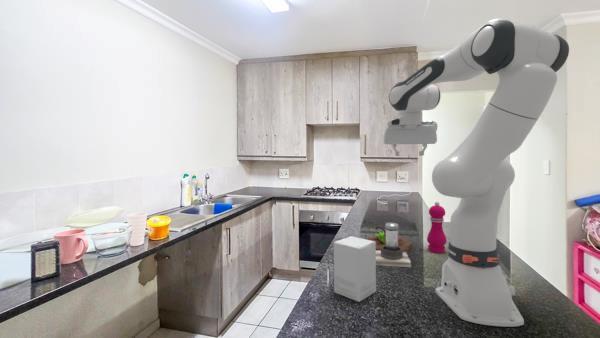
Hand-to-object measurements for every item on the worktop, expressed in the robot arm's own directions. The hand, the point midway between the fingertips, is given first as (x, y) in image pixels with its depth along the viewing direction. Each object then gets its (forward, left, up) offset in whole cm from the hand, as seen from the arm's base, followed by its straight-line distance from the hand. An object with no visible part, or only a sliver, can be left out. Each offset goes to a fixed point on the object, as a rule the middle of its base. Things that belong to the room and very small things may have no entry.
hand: (409, 155), depth 123 cm
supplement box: (-42, +21, -39) cm, 61 cm away
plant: (+2, +8, -39) cm, 40 cm away
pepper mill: (0, -11, -39) cm, 40 cm away
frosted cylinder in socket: (-14, +8, -37) cm, 40 cm away
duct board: (-14, +8, -39) cm, 42 cm away
